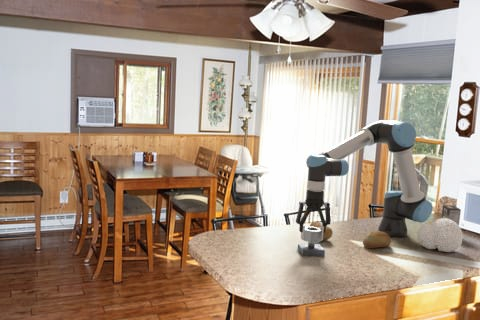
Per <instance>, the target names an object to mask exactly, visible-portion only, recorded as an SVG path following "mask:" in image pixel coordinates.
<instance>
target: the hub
mask: <svg viewBox="0 0 480 320" xmlns="http://www.w3.org/2000/svg"><path fill="white" fill-rule="evenodd" d="M321 239H322V230H321V229H320V228H317V227H310V225H309V226H306V225H305V232H304V240H303V241H304V242H307V243H308V242H315V243H316V244H319V243H320V242H322V240H321Z"/></svg>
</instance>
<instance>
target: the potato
mask: <svg viewBox="0 0 480 320" xmlns="http://www.w3.org/2000/svg"><path fill="white" fill-rule="evenodd" d="M320 225H322V222H318V221H313V222H311V223H310V224H309V226H310V227H317V228H320ZM333 233H334V231H333V229H332V228H331V227H330V226H328V225H327V226H326V231H325V233H323V240H322V241H328V240H330V239H331V238H332V237H333Z"/></svg>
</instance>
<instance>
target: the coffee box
mask: <svg viewBox="0 0 480 320" xmlns="http://www.w3.org/2000/svg"><path fill="white" fill-rule="evenodd" d="M441 209H442V210H441V218H442V219H443V218H447V219H450V220H452V221H454V222H456V223H457V224H458V225H459V226H460V220H461V213H462V212H461V210H462V209H460V208H459V207H457V206H455V205H450V204H449V205H446V204H444V205H443V204H442V208H441Z"/></svg>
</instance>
